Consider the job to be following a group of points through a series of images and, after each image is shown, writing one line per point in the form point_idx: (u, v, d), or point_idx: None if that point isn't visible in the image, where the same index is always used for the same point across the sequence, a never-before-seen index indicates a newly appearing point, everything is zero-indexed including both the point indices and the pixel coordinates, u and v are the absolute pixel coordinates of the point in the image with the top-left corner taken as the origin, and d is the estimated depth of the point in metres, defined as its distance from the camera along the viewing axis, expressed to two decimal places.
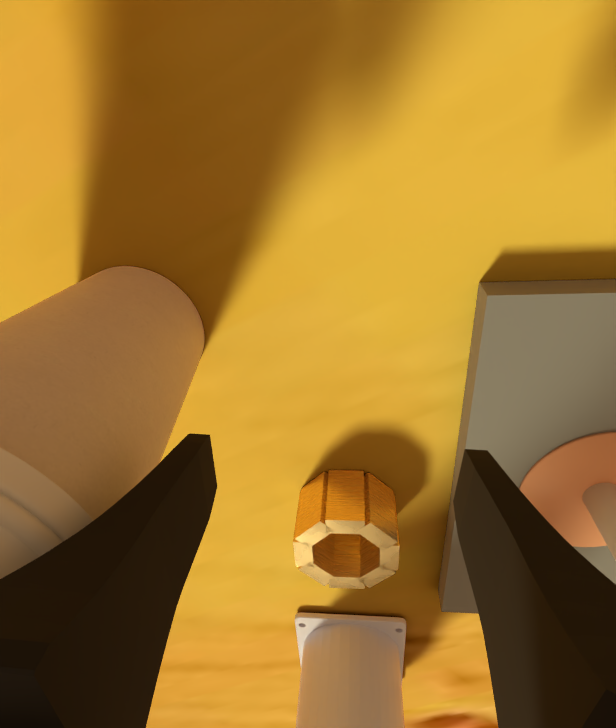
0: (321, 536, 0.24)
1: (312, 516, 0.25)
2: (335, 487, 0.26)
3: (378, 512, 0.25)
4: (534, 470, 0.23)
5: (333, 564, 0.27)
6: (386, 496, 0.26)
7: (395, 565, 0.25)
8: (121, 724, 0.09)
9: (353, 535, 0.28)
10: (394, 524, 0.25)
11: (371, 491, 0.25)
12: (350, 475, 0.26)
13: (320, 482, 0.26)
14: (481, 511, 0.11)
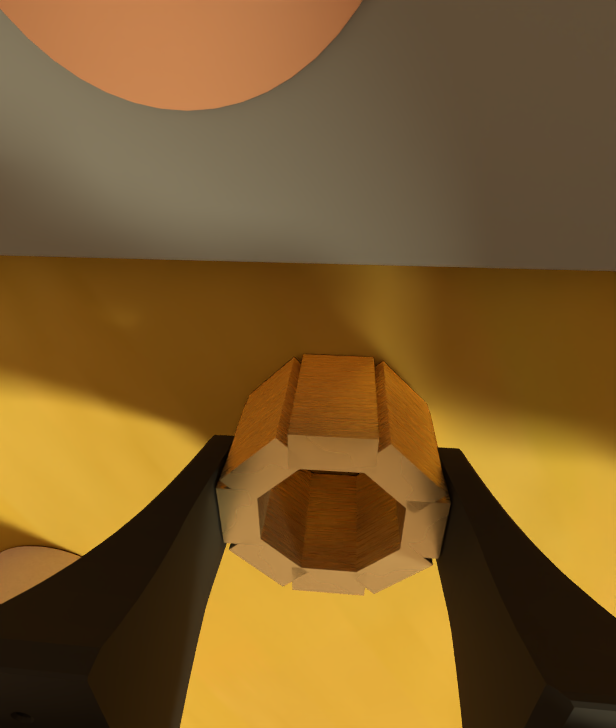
0: (271, 552, 0.12)
1: None
2: None
3: (245, 437, 0.12)
4: (101, 83, 0.09)
5: (397, 526, 0.12)
6: (275, 385, 0.13)
7: (360, 443, 0.10)
8: None
9: None
10: (278, 412, 0.11)
11: (243, 419, 0.13)
12: None
13: None
14: (450, 509, 0.11)
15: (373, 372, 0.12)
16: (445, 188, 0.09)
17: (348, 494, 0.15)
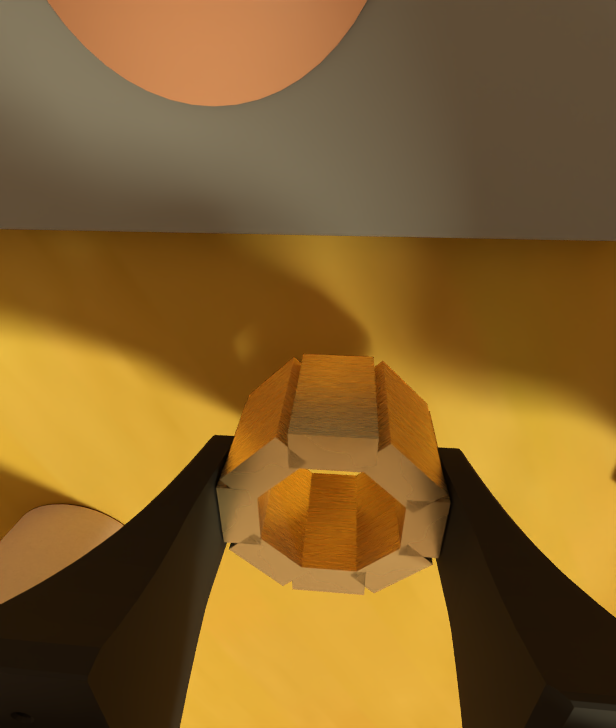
0: (271, 552, 0.12)
1: None
2: None
3: (246, 437, 0.12)
4: (144, 84, 0.11)
5: (397, 525, 0.12)
6: (275, 385, 0.13)
7: (360, 443, 0.10)
8: None
9: None
10: (278, 411, 0.11)
11: (243, 419, 0.13)
12: None
13: None
14: (450, 509, 0.11)
15: (373, 372, 0.12)
16: (426, 170, 0.11)
17: (348, 494, 0.15)
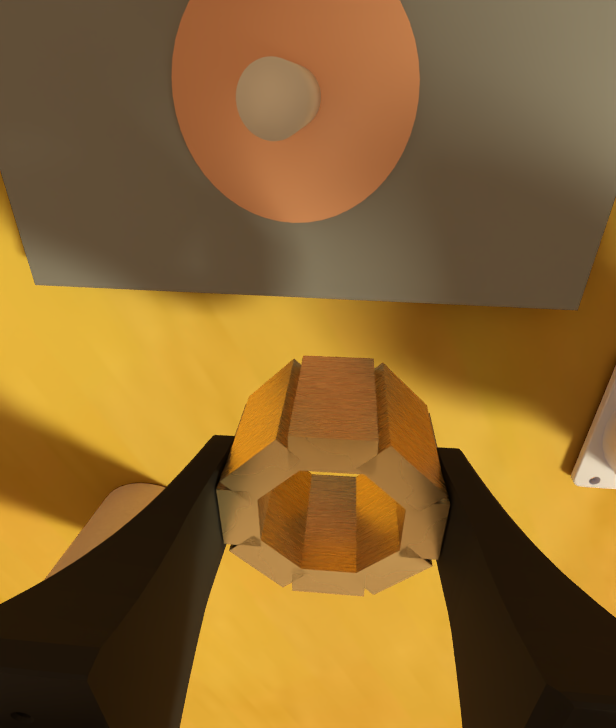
0: (271, 553, 0.12)
1: None
2: None
3: (246, 438, 0.12)
4: (250, 209, 0.17)
5: (397, 527, 0.13)
6: (275, 387, 0.13)
7: (360, 445, 0.10)
8: None
9: None
10: (278, 413, 0.11)
11: (243, 421, 0.13)
12: None
13: None
14: (450, 509, 0.11)
15: (373, 374, 0.12)
16: (427, 263, 0.18)
17: (348, 495, 0.15)
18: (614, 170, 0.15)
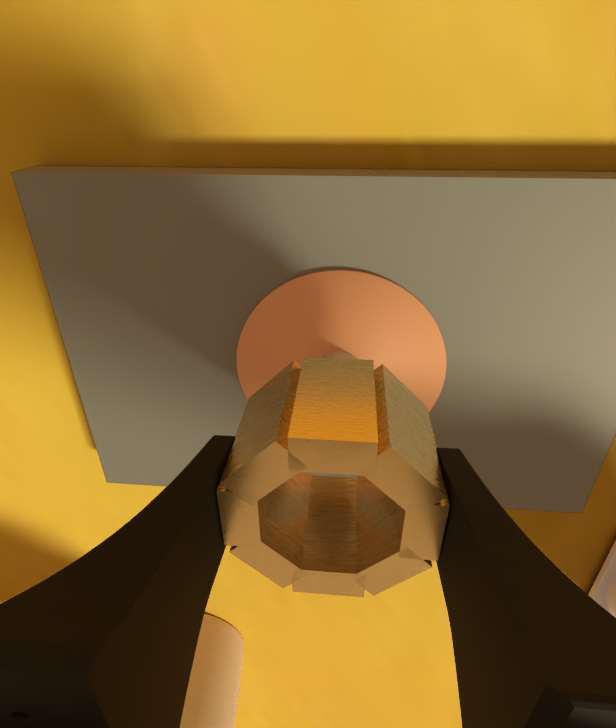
0: (271, 554, 0.12)
1: None
2: None
3: (246, 440, 0.12)
4: None
5: (397, 528, 0.13)
6: (275, 388, 0.13)
7: (360, 447, 0.10)
8: None
9: None
10: (278, 415, 0.11)
11: (243, 422, 0.13)
12: None
13: None
14: (450, 509, 0.11)
15: (373, 375, 0.13)
16: None
17: (348, 496, 0.15)
18: (611, 423, 0.18)
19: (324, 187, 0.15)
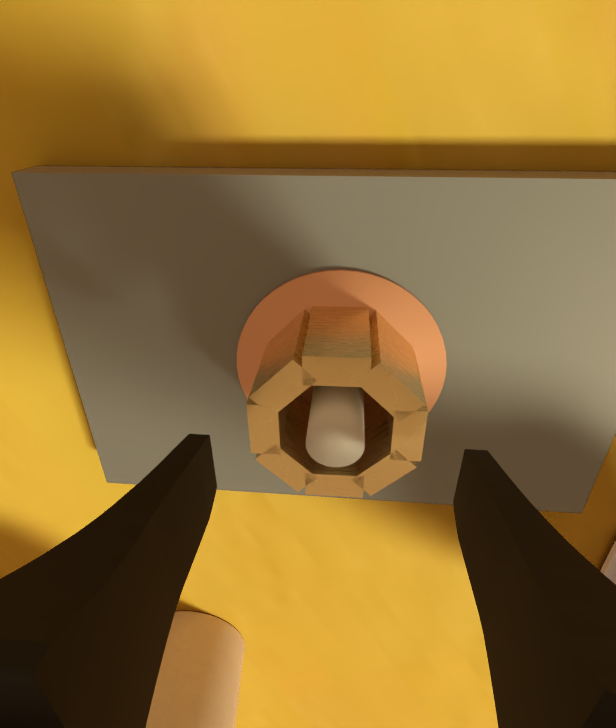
0: (289, 460, 0.16)
1: None
2: None
3: (268, 367, 0.15)
4: None
5: (389, 439, 0.16)
6: (290, 330, 0.16)
7: (357, 362, 0.13)
8: (121, 724, 0.09)
9: None
10: (293, 344, 0.15)
11: (265, 357, 0.16)
12: None
13: None
14: (482, 511, 0.11)
15: (368, 317, 0.16)
16: (451, 478, 0.20)
17: None
18: (611, 423, 0.18)
19: (324, 187, 0.15)
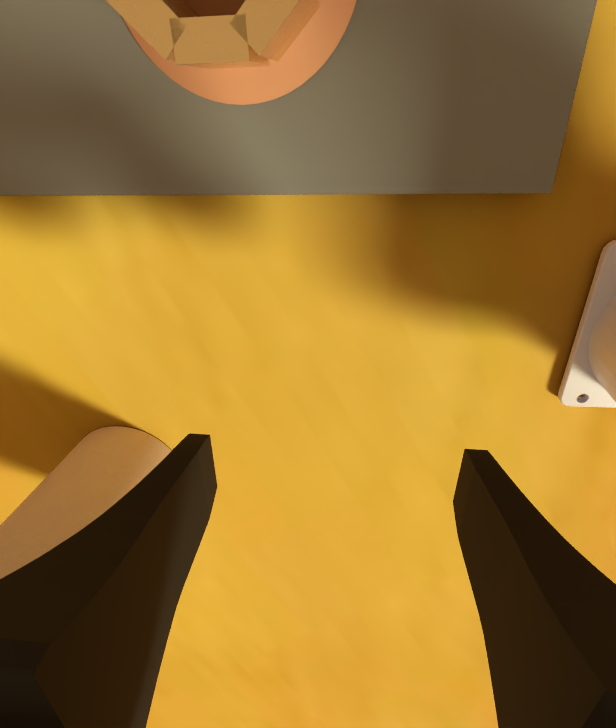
0: None
1: None
2: None
3: None
4: (196, 91, 0.16)
5: None
6: None
7: None
8: (121, 724, 0.09)
9: None
10: None
11: None
12: None
13: None
14: (482, 511, 0.11)
15: None
16: (388, 146, 0.16)
17: None
18: (581, 21, 0.14)
19: None
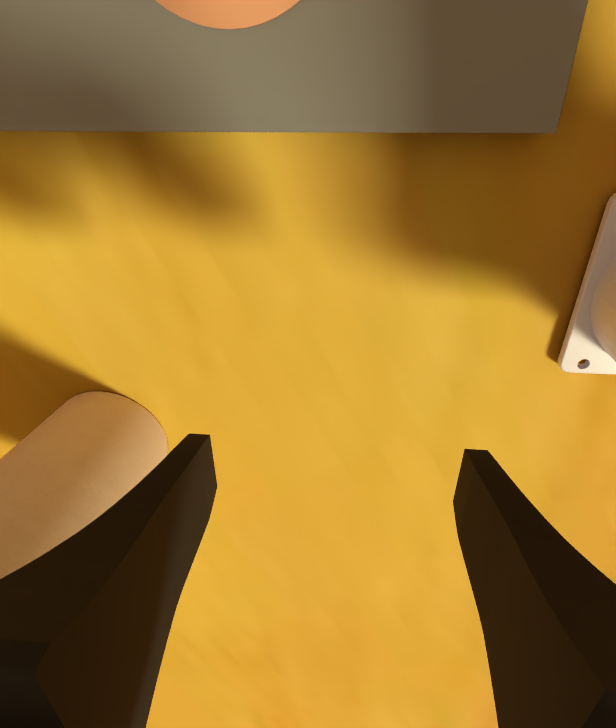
0: None
1: None
2: None
3: None
4: (179, 12, 0.15)
5: None
6: None
7: None
8: (121, 724, 0.09)
9: None
10: None
11: None
12: None
13: None
14: (482, 511, 0.11)
15: None
16: (383, 78, 0.15)
17: None
18: None
19: None
